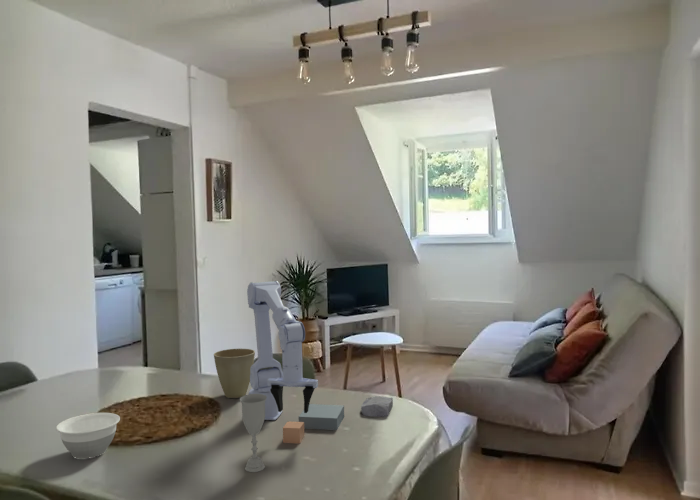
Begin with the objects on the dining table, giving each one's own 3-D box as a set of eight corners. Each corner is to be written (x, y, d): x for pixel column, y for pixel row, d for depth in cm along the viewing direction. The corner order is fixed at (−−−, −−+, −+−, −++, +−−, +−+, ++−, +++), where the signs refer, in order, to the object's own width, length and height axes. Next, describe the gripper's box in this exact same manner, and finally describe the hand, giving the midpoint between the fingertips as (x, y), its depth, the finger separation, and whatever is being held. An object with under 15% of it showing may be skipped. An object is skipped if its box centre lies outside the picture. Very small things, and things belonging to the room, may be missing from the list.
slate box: (298, 429, 164) (298, 416, 164) (308, 415, 176) (308, 403, 176) (337, 431, 162) (336, 418, 162) (344, 417, 174) (344, 405, 174)
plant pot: (264, 392, 200) (263, 350, 200) (235, 404, 188) (234, 359, 187) (235, 387, 208) (234, 346, 208) (206, 397, 196) (204, 354, 195)
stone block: (360, 421, 174) (390, 417, 172) (357, 407, 174) (387, 402, 172) (367, 410, 186) (395, 406, 184) (364, 397, 186) (392, 392, 184)
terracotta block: (283, 443, 153) (282, 427, 153) (288, 436, 158) (287, 421, 158) (300, 444, 152) (299, 428, 152) (304, 437, 157) (304, 422, 157)
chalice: (243, 462, 141) (241, 394, 140) (269, 460, 141) (267, 393, 140) (239, 474, 133) (238, 403, 133) (267, 473, 134) (265, 402, 133)
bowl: (78, 470, 137) (77, 437, 137) (45, 457, 146) (43, 426, 146) (133, 448, 151) (132, 418, 151) (99, 437, 159) (98, 408, 159)
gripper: (263, 367, 151) (264, 415, 152) (313, 369, 149) (314, 417, 150) (271, 361, 158) (272, 406, 159) (319, 362, 156) (320, 408, 156)
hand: (293, 411), depth 155 cm, fingers open, 7 cm apart
